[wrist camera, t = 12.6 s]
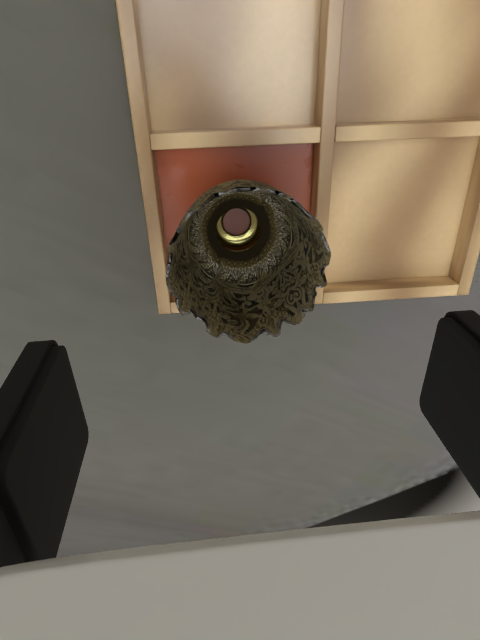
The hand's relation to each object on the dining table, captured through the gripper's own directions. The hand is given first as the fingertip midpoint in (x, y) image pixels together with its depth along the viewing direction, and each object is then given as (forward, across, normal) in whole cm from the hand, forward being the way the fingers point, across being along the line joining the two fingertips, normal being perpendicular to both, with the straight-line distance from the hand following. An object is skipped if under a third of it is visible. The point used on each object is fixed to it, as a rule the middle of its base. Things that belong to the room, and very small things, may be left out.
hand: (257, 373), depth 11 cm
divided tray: (+18, -6, -4) cm, 19 cm away
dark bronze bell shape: (+17, -1, +1) cm, 17 cm away
